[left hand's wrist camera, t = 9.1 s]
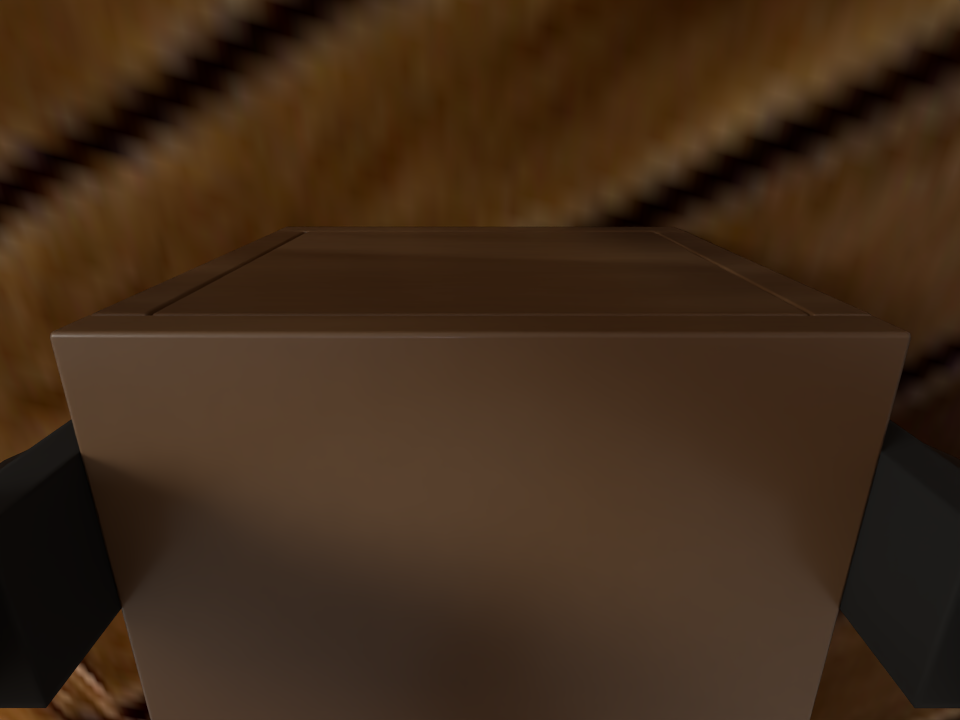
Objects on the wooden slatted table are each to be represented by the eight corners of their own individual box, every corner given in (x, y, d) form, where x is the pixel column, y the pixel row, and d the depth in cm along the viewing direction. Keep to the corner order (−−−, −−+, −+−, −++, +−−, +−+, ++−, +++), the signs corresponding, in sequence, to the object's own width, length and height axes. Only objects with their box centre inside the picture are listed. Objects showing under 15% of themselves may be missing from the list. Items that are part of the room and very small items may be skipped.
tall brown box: (622, 700, 23) (717, 1074, 14) (337, 700, 23) (242, 1074, 14) (676, 226, 17) (916, 333, 7) (284, 226, 17) (44, 332, 7)
